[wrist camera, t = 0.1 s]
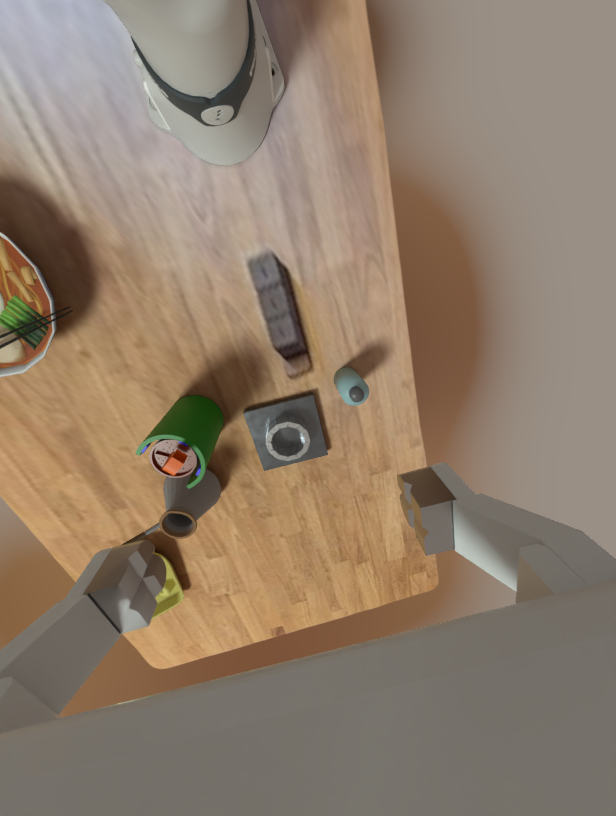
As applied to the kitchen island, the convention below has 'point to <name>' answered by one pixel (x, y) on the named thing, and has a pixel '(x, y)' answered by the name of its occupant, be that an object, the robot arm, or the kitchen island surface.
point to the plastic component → (168, 591)
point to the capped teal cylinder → (351, 386)
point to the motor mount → (286, 431)
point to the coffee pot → (185, 505)
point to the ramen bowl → (23, 311)
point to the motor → (185, 438)
